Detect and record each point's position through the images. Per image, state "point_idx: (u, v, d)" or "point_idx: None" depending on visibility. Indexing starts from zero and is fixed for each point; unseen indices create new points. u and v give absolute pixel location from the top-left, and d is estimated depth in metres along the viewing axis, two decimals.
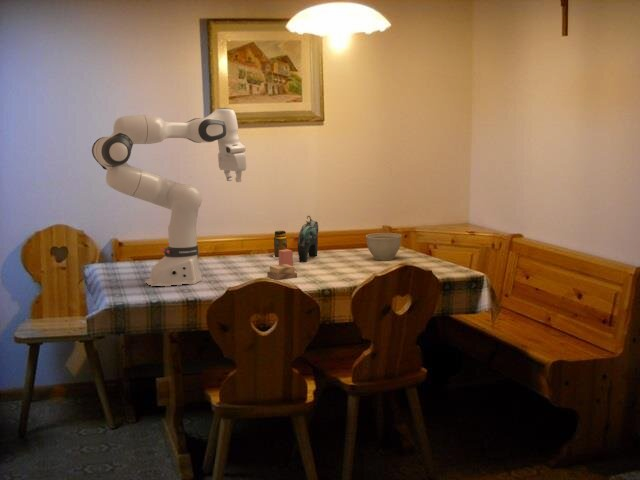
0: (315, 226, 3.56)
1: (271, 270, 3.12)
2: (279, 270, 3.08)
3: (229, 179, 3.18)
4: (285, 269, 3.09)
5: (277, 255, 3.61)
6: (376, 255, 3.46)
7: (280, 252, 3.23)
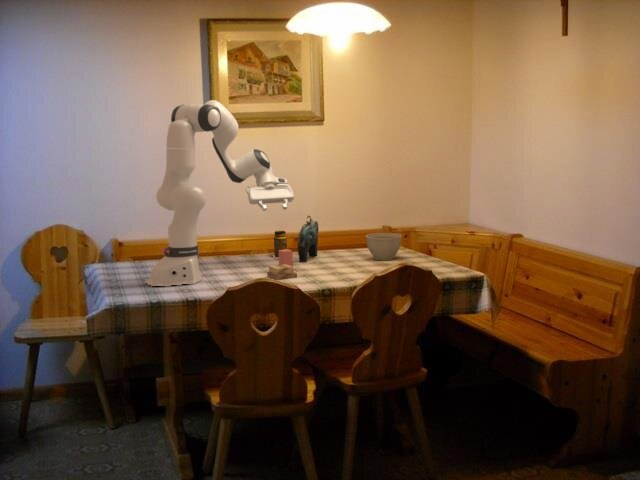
0: (315, 226, 3.56)
1: (270, 270, 3.12)
2: (278, 270, 3.07)
3: None
4: (284, 269, 3.09)
5: (277, 255, 3.61)
6: (376, 255, 3.46)
7: (280, 252, 3.23)
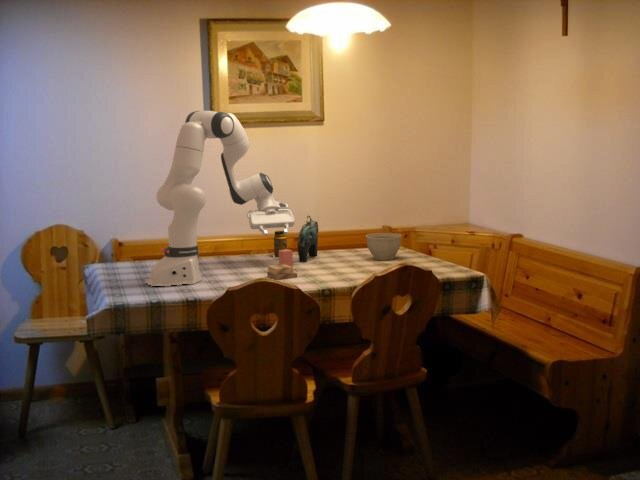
0: (315, 226, 3.56)
1: (269, 270, 3.12)
2: (277, 270, 3.07)
3: None
4: (283, 269, 3.09)
5: (277, 255, 3.61)
6: (376, 255, 3.46)
7: (280, 252, 3.23)
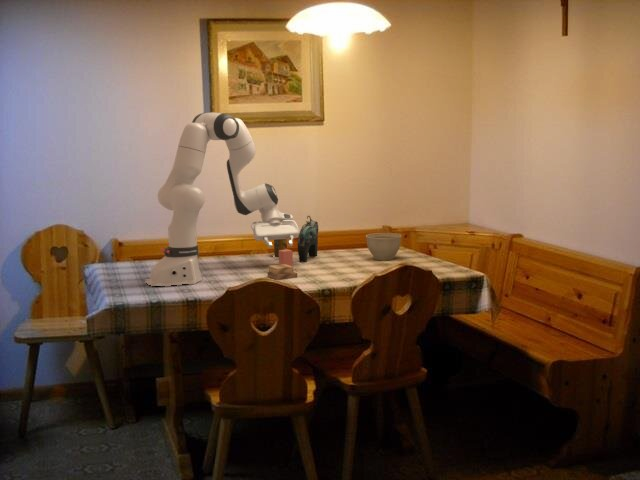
0: (315, 226, 3.56)
1: (270, 270, 3.13)
2: (278, 270, 3.08)
3: None
4: (284, 269, 3.09)
5: (277, 255, 3.61)
6: (376, 255, 3.46)
7: (280, 252, 3.23)
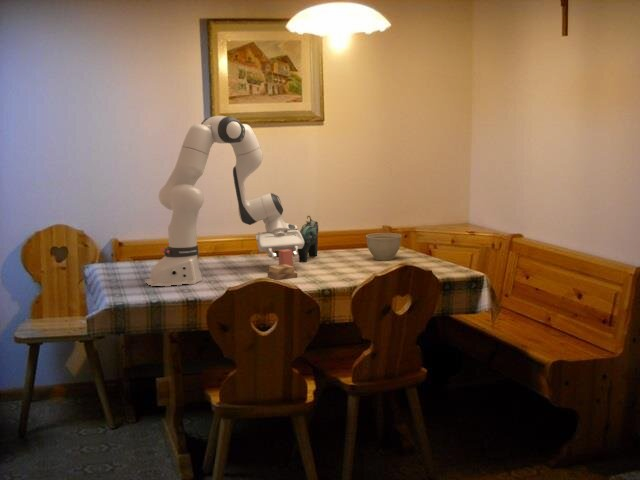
0: (315, 226, 3.56)
1: (271, 270, 3.13)
2: (279, 270, 3.08)
3: None
4: (285, 269, 3.09)
5: (277, 255, 3.61)
6: (376, 255, 3.46)
7: (280, 252, 3.23)
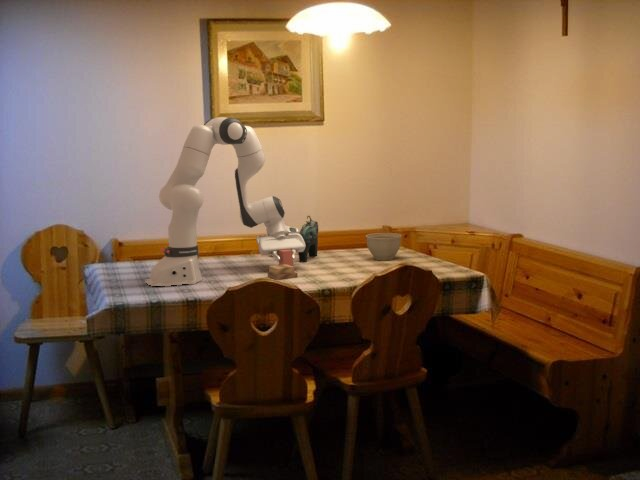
0: (315, 226, 3.56)
1: (270, 270, 3.12)
2: (279, 270, 3.08)
3: None
4: (285, 269, 3.09)
5: None
6: (376, 255, 3.46)
7: (280, 252, 3.23)
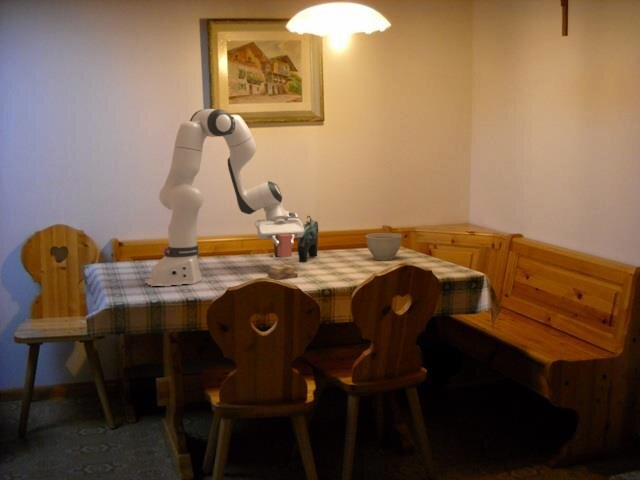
0: (315, 226, 3.56)
1: (271, 270, 3.12)
2: (279, 270, 3.07)
3: None
4: (285, 269, 3.09)
5: (277, 255, 3.61)
6: (376, 255, 3.46)
7: (279, 236, 3.22)
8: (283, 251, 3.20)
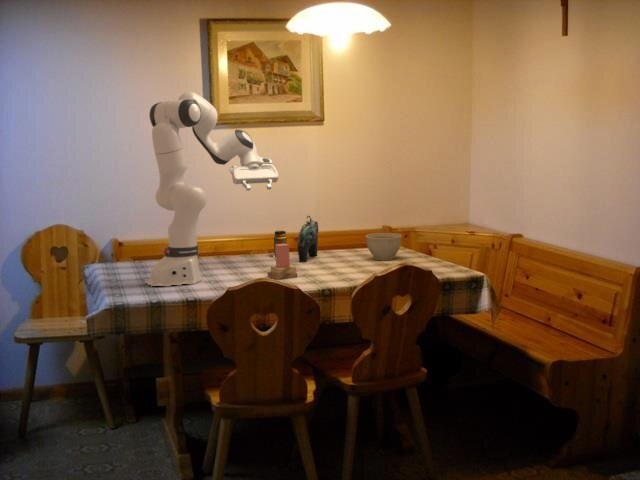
0: (315, 226, 3.56)
1: (272, 270, 3.12)
2: (280, 270, 3.08)
3: None
4: (286, 269, 3.09)
5: None
6: (376, 255, 3.46)
7: (276, 246, 3.11)
8: (279, 261, 3.09)
